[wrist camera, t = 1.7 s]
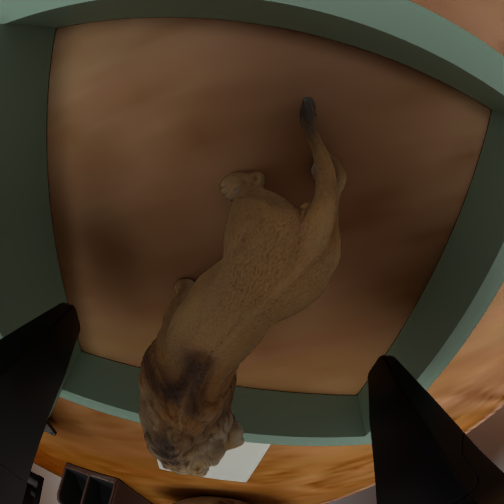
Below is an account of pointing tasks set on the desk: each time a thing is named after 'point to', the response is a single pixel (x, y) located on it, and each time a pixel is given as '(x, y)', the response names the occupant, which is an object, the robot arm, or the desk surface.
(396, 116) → the desk surface
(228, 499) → the clay pot
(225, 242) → the lion figurine
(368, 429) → the cold frame
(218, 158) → the desk surface
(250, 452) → the tile pad
